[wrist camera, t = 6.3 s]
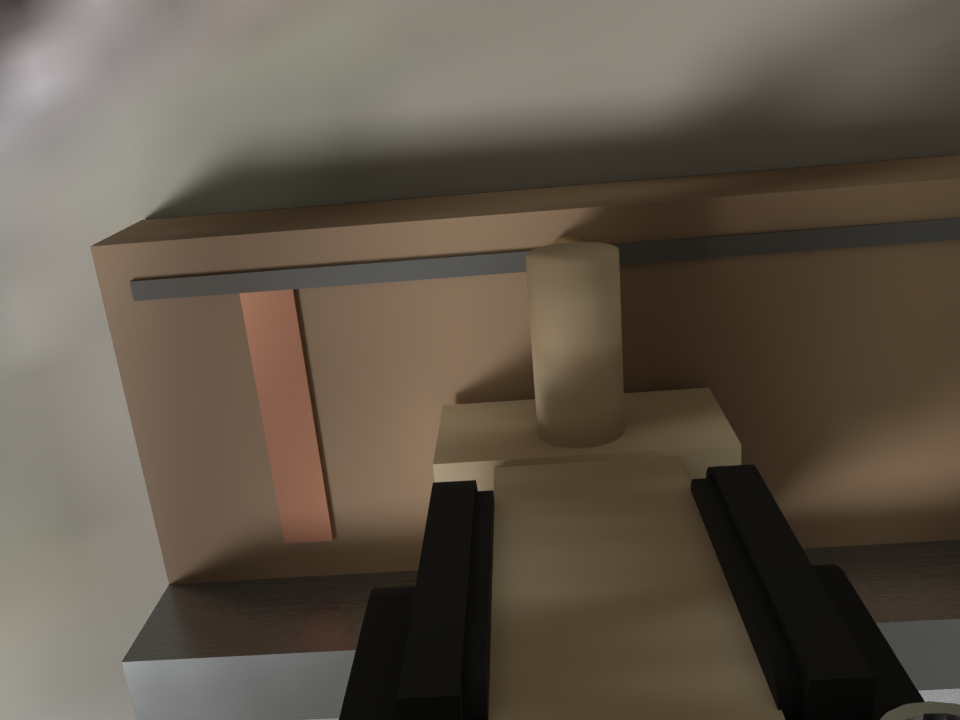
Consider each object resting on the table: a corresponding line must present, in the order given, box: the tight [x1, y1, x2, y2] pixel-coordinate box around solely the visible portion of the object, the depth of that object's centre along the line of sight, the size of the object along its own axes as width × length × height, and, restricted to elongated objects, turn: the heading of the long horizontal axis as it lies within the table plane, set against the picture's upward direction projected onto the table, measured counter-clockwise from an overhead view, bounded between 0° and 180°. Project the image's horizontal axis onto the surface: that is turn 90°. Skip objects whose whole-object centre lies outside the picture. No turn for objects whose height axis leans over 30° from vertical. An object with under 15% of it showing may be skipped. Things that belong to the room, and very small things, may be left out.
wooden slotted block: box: [90, 155, 960, 720], centre depth 14 cm, size 18×7×4 cm, turn 95°
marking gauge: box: [433, 237, 785, 720], centre depth 10 cm, size 4×5×8 cm
